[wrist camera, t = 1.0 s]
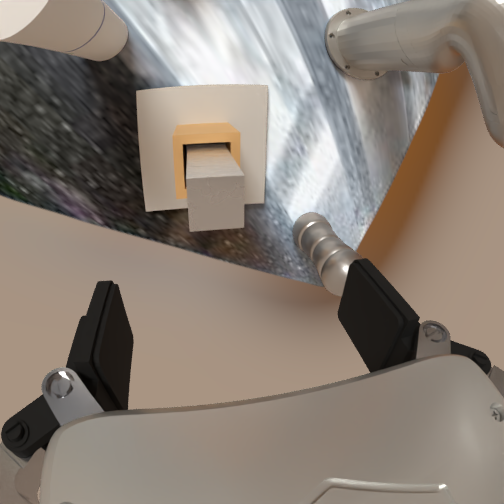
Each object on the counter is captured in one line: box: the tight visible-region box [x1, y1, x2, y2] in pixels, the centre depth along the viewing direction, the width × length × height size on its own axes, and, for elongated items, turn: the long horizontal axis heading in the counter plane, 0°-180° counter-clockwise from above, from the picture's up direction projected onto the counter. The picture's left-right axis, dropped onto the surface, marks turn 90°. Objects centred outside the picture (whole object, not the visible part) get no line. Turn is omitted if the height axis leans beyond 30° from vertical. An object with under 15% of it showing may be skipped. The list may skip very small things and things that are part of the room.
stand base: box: [136, 84, 268, 212], centre depth 35 cm, size 18×18×13 cm
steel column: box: [186, 142, 245, 232], centre depth 30 cm, size 4×4×22 cm
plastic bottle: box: [292, 212, 363, 297], centre depth 42 cm, size 6×7×20 cm
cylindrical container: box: [0, 0, 128, 61], centre depth 19 cm, size 7×7×25 cm
